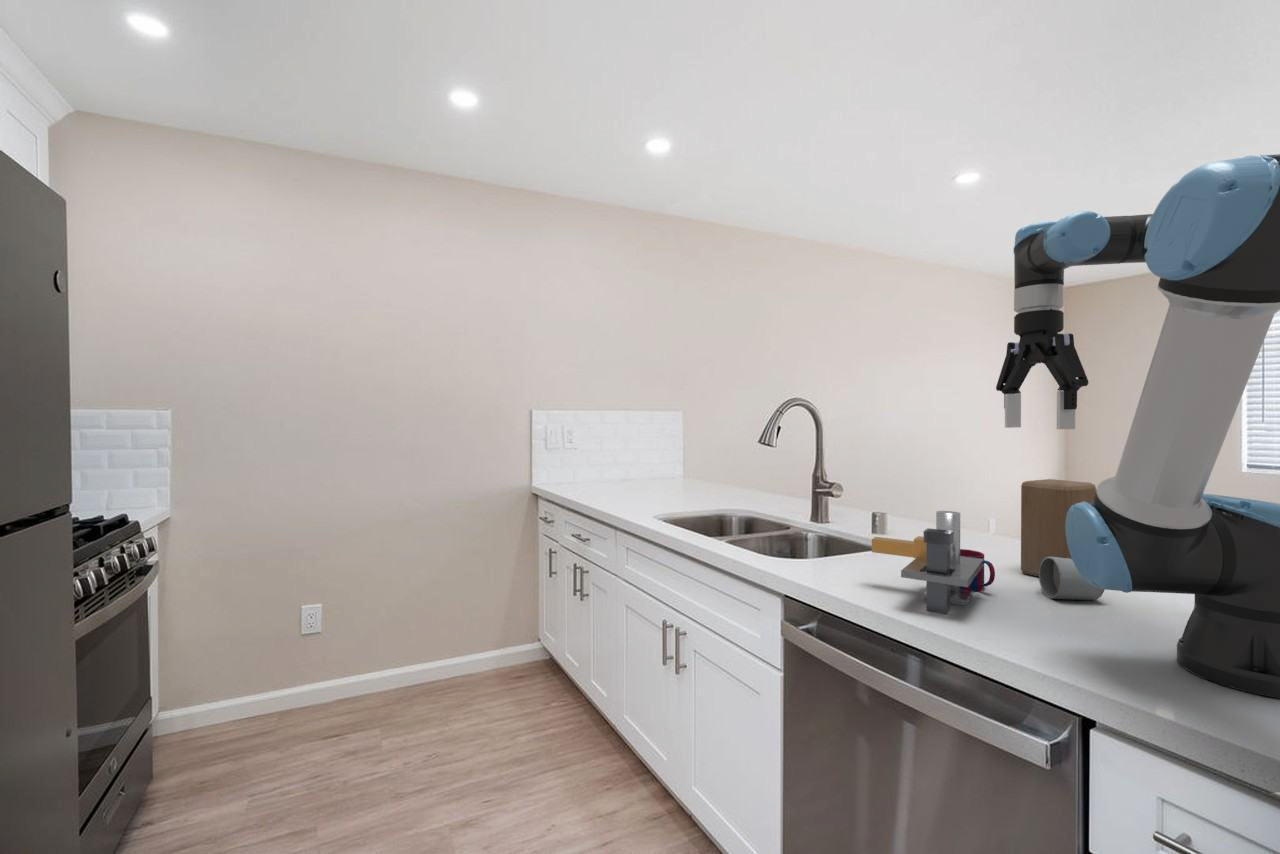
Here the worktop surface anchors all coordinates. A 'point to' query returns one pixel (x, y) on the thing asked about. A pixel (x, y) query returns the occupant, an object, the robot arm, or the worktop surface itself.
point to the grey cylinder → (1065, 580)
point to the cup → (979, 579)
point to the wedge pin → (938, 569)
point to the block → (1048, 519)
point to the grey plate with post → (960, 566)
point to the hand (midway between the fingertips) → (1037, 428)
